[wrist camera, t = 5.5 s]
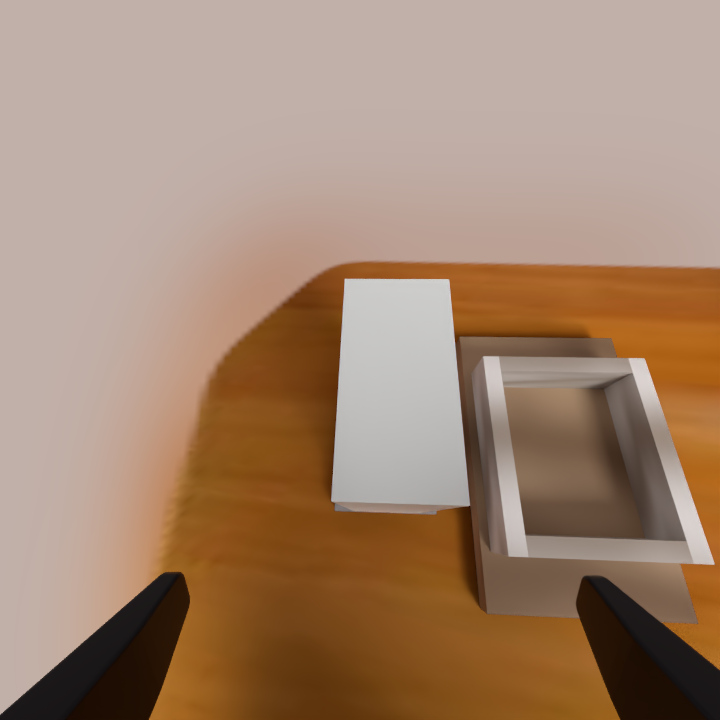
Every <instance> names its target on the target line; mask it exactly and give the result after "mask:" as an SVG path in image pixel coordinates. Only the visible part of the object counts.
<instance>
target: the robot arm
mask: <svg viewBox="0 0 720 720" xmlns="http://www.w3.org/2000/svg"><path fill="white" fill-rule="evenodd" d="M189 604H190V595H189V592H188V588H187V584H186V581H185V577H184V575H183V574H182V573H181V572H165V573H163V574H161V575H160V576H159V577H158V578H156V579H155V580H154V581H153V582H152V583H151V584H150V585H148V586H147V587H146V588H145V589H144V590H143V591H142V592H140V593H139V594H138V595H137V596H136V597H135V598H134V599H132V600H131V601H130V602H129V603H128V604H127V605H126V606H124V607H123V608H122V609H121V610H120V611H119V612H117V613H116V614H115V615H114V616H113V617H112V618H111V619H110V620H108V621H107V622H106V623H105V624H104V625H103V626H101V627H100V628H99V629H98V630H97V631H96V632H95V633H93V634H92V635H91V636H90V637H89V638H88V639H87V640H85V641H84V642H83V643H82V644H81V645H80V646H78V648H76V649H75V650H74V651H73V652H72V653H70V654H69V655H68V656H67V657H66V658H65V659H64V660H62V661H61V662H60V663H59V664H58V665H57V666H56V667H54V669H52V670H51V671H50V672H49V673H48V674H47V675H45V676H44V677H43V678H42V679H41V680H40V681H39V682H37V683H36V684H35V685H34V686H33V687H32V688H30V689H29V690H28V691H27V692H26V693H25V694H23V695H22V696H21V697H20V698H19V699H18V700H17V701H15V702H14V703H13V704H12V705H11V706H10V707H9V708H8V709H6V710H5V711H4V712H3V713H2V714H1V715H0V720H149V718H150V715H151V713H152V711H153V708H154V706H155V704H156V701H157V699H158V696H159V694H160V691H161V688H162V686H163V683H164V680H165V677H166V674H167V671H168V668H169V665H170V662H171V659H172V656H173V653H174V650H175V647H176V644H177V641H178V638H179V635H180V632H181V629H182V626H183V623H184V620H185V617H186V614H187V611H188V608H189ZM576 608H577V612H578V615H579V618H580V620H581V623H582V626H583V628H584V631H585V633H586V636H587V639H588V641H589V644H590V646H591V649H592V652H593V654H594V657H595V659H596V662H597V665H598V667H599V670H600V672H601V675H602V678H603V680H604V683H605V685H606V688H607V690H608V693H609V695H610V698H611V700H612V702H613V705H614V707H615V709H616V711H617V713H618V715H619V718H620V720H720V670H719V669H718V668H716V667H715V666H714V665H713V664H712V663H710V662H709V661H708V660H707V659H705V658H704V657H703V656H702V655H700V654H699V653H698V652H697V651H696V650H694V649H693V648H692V647H691V646H689V645H688V644H687V643H686V642H685V641H683V640H682V639H681V638H680V637H678V636H677V635H676V634H675V633H674V632H672V631H671V630H670V629H669V628H667V627H666V626H665V625H664V624H663V623H661V622H660V621H659V620H658V619H656V618H655V617H654V616H653V615H651V614H650V613H649V612H648V611H647V610H645V609H644V608H643V607H642V606H640V605H639V604H638V603H637V602H636V601H634V600H633V599H632V598H631V597H629V596H628V595H627V594H626V593H625V592H623V591H622V590H621V589H620V588H618V587H617V586H616V585H615V584H613V583H612V582H611V581H610V580H609V579H607V578H605V577H604V576H600V575H585V576H584V577H582V579H581V583H580V587H579V590H578V594H577V598H576Z"/></svg>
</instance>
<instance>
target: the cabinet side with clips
mask: <svg viewBox="0 0 720 720" xmlns="http://www.w3.org/2000/svg"><path fill="white" fill-rule="evenodd" d="M456 356H457V367H458V377H459V388H460V399H461V410H462V420H463V431H464V442H465V453H466V464H467V474H468V485H469V496H470V507H471V517H472V528H473V539H474V550H475V561H476V571H477V582H478V593H479V604H480V608H481V609H482V610H483V611H484V612H486V613H487V614H500V615H521V616H543V617H564V618H579V615H578V612H577V608H576V598H577V594H578V590H579V587H580V583H581V579H582V577H584V576H585V575H600V576H604V577H605V578H607V579H609V580H610V581H611V582H612V583H613V584H615V585H616V586H617V587H618V588H620V589H621V590H622V591H623V592H625V593H626V594H627V595H628V596H629V597H631V598H632V599H633V600H634V601H636V602H637V603H638V604H639V605H640V606H642V607H643V608H644V609H645V610H647V611H648V612H649V613H650V614H651V615H653V616H654V617H655V618H656V619H658V620H659V621H660V622H671V623H693V624H698V621H697V618H696V614H695V611H694V608H693V605H692V601H691V598H690V595H689V591H688V588H687V585H686V582H685V578H684V575H683V572H682V568H681V565H680V563H686V564H712V565H715V564H714V561H713V558H712V555H711V552H710V549H709V546H708V543H707V540H706V537H705V535H704V532H703V529H702V526H701V523H700V520H699V517H698V514H697V511H696V508H695V505H694V502H693V499H692V496H691V493H690V490H689V488H688V485H687V482H686V479H685V476H684V473H683V470H682V467H681V464H680V461H679V458H678V455H677V452H676V449H675V446H674V444H673V441H672V438H671V435H670V432H669V429H668V426H667V423H666V420H665V417H664V414H663V411H662V408H661V405H660V402H659V399H658V397H657V394H656V391H655V388H654V385H653V382H652V379H651V376H650V373H649V370H648V367H647V364H646V361H645V358H617V355H616V352H615V349H614V346H613V342H612V339H611V338H534V337H459V339H458V341H457V344H456Z"/></svg>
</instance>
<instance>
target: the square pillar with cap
mask: <svg viewBox="0 0 720 720" xmlns="http://www.w3.org/2000/svg"><path fill="white" fill-rule="evenodd" d="M331 502H334V503H335V511H344V512H374V513H403V514H436V511H437V510H444V509H451V508H459V507H466V506H470V500H469V490H468V479H467V468H466V457H465V446H464V435H463V425H462V414H461V403H460V392H459V381H458V370H457V359H456V349H455V338H454V327H453V316H452V305H451V294H450V284H449V279H345V285H344V301H343V318H342V334H341V350H340V366H339V383H338V399H337V415H336V431H335V448H334V464H333V480H332V497H331Z"/></svg>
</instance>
